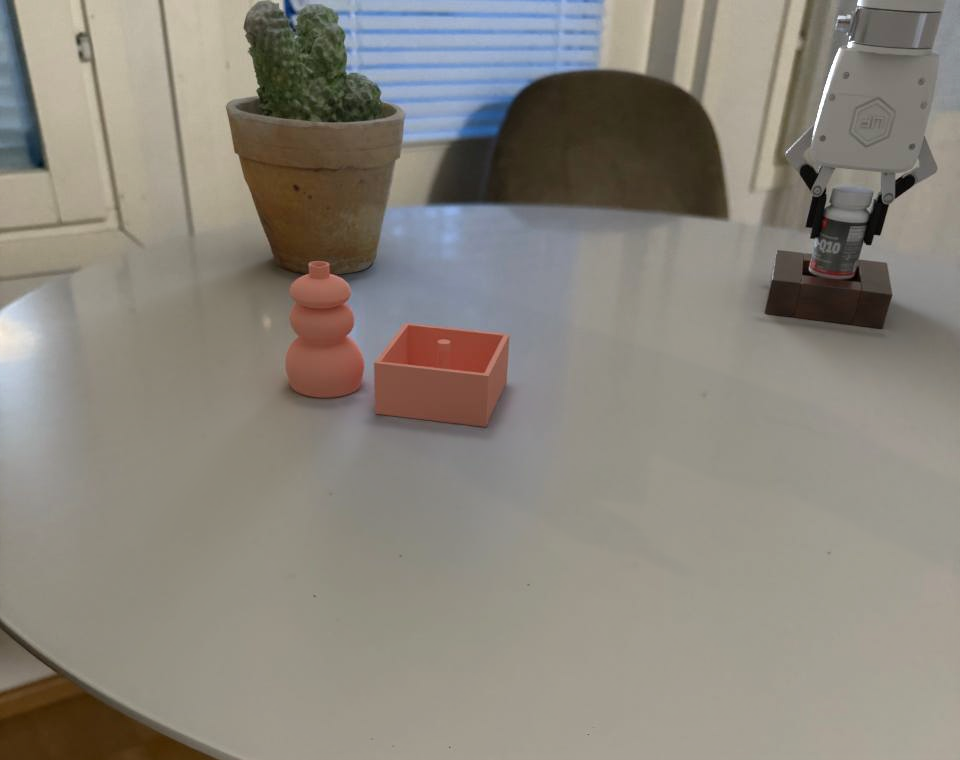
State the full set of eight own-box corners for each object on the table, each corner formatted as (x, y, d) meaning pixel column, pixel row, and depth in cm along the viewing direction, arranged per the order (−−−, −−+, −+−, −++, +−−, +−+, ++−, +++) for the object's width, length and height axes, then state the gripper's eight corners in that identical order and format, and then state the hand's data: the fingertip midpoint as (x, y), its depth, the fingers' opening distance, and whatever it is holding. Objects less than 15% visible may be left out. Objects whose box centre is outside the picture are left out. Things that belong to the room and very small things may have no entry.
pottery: (506, 381, 83) (513, 265, 77) (486, 427, 75) (492, 301, 69) (308, 359, 85) (300, 244, 79) (269, 400, 78) (257, 277, 72)
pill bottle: (798, 270, 102) (818, 185, 97) (831, 265, 104) (852, 182, 99) (830, 283, 99) (852, 196, 94) (863, 278, 101) (887, 192, 96)
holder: (877, 294, 107) (887, 262, 105) (882, 329, 98) (892, 294, 96) (769, 281, 109) (776, 249, 107) (764, 313, 100) (771, 279, 98)
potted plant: (262, 234, 116) (239, -13, 101) (414, 242, 116) (414, -5, 101) (224, 280, 102) (190, -1, 87) (398, 289, 102) (395, 9, 86)
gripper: (798, 29, 87) (755, 238, 98) (996, 43, 84) (928, 258, 95) (800, 23, 93) (759, 221, 104) (985, 36, 90) (923, 239, 101)
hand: (840, 236), depth 99 cm, fingers closed on pill bottle, 4 cm apart
